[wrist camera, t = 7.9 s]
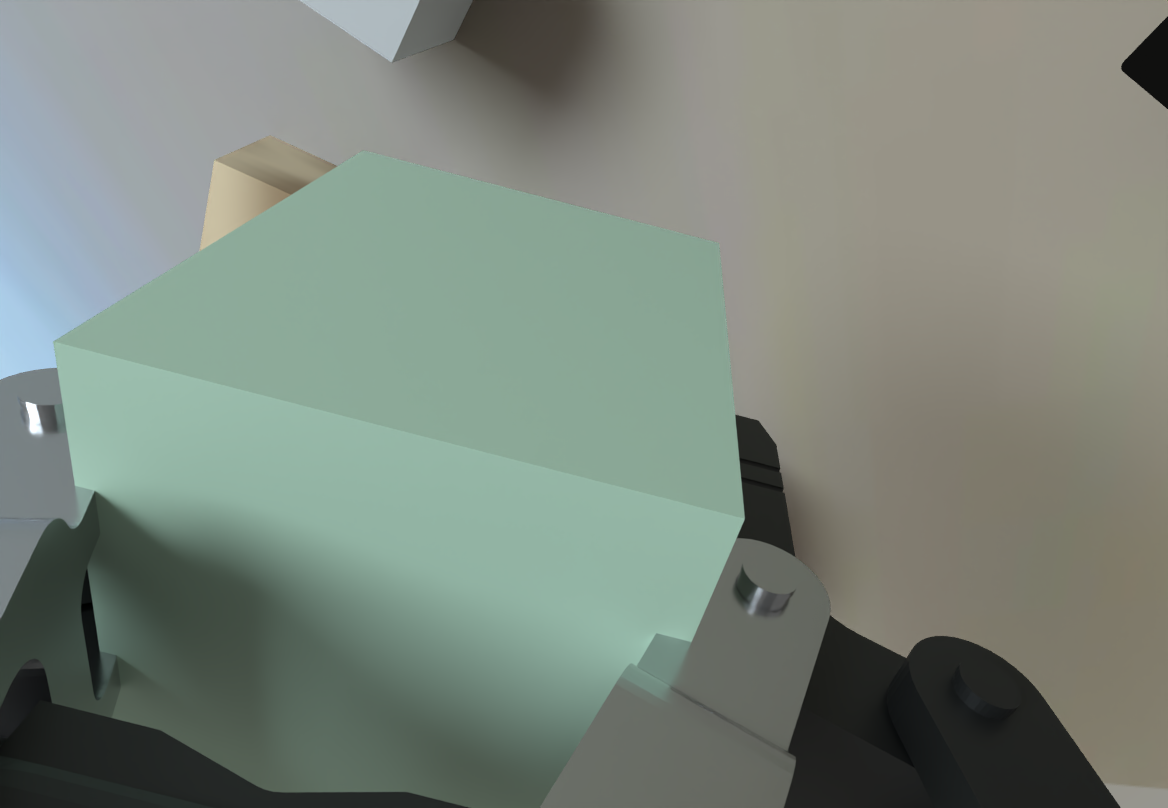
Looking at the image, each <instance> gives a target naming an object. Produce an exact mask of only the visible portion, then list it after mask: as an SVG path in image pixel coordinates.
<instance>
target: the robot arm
mask: <svg viewBox="0 0 1168 808" xmlns="http://www.w3.org/2000/svg"><path fill="white" fill-rule="evenodd" d="M735 419H736V429H737V440H738V451H739V461H740V472H741V483H742V493H743V504H744V515H745V520H744V522H743V524H742V527H741V529H740V531H739V534H738V536H737V538H736V540H735V543H734V545H733V547H732V550H731V552H730V554H729V557H728V559H727V561H726V564H725V566H724V568H723V570H722V573H721V575H720V577H719V580H718V582H717V584H716V587H715V589H714V591H713V594H712V596H711V598H710V600H709V603H708V605H707V607H706V610H705V612H704V614H703V617H702V619H701V621H700V624H699V626H698V628H697V630H696V633H695V635H694V637H693V640H692V642H689V641H685V640H681V639H677V638H673V637H669V636H666V635H662V634H658V633H656V634H655V636H654V638H653V639H652V641H651V643H650V644H649V646H648V648H647V649H646V651H645V653H644V654H643V656H642V658H641V659H640V661H639V663H638V664H637V666H636V665H634V664H633V663H630V664H629V665H628V666H627V667H626V669H625V670H624V671H623V673H622V674H621V676H620V677H619V679H618V681H617V682H616V684H615V685H614V687H613V689H612V690H611V692H610V694H609V695H608V697H607V698H606V700H605V702H604V703H603V705H602V707H601V708H600V710H599V712H598V713H597V715H596V716H595V718H594V720H593V721H592V723H591V725H590V726H589V728H588V729H587V731H586V733H585V734H584V736H583V738H582V739H581V741H580V743H579V744H578V746H577V747H576V749H575V751H574V752H573V754H572V756H571V757H570V759H569V761H568V762H567V764H566V765H565V767H564V769H563V770H562V772H561V774H560V775H559V777H558V779H557V780H556V782H555V783H554V785H553V787H552V788H551V790H550V792H549V793H548V795H547V796H546V798H545V800H544V801H543V803H542V805H541V806H540V808H1120V806H1119V805H1118V803H1117V802H1116V801H1115V799H1114V798H1113V796H1112V795H1111V793H1110V792H1109V790H1108V789H1107V788H1106V786H1105V785H1104V783H1103V782H1102V781H1101V779H1100V778H1099V776H1098V775H1097V773H1096V772H1095V771H1094V769H1093V768H1092V766H1091V765H1090V763H1089V762H1088V761H1087V759H1086V758H1085V756H1084V755H1083V753H1082V752H1081V751H1080V749H1079V748H1078V746H1077V745H1076V743H1075V742H1074V741H1073V739H1072V738H1071V736H1070V735H1069V733H1068V732H1067V731H1066V729H1065V728H1064V726H1063V725H1062V724H1061V722H1060V721H1059V719H1058V718H1057V716H1056V715H1055V714H1054V712H1053V711H1052V709H1051V708H1050V706H1049V705H1048V704H1047V702H1046V701H1045V699H1044V698H1043V697H1042V695H1041V694H1040V693H1039V691H1038V690H1037V689H1036V688H1035V686H1034V685H1033V684H1032V683H1031V682H1030V681H1029V680H1028V679H1027V678H1026V677H1025V676H1024V675H1023V674H1022V673H1020V672H1019V671H1018V670H1017V669H1016V668H1015V667H1013V666H1012V665H1011V664H1009V663H1008V662H1007V661H1005V660H1004V659H1003V658H1001V657H999V656H998V655H996V654H994V653H993V652H991V651H989V650H987V649H985V648H983V647H981V646H979V645H977V644H974V643H972V642H969V641H966V640H963V639H959V638H955V637H948V636H934V637H929V638H926V639H924V640H921V641H920V642H918V643H917V644H916V645H915V646H914V647H913V649H912V650H911V652H910V654H909V655H908V657H907V658H905V657H903V656H901V655H899V654H897V653H895V652H893V651H891V650H889V649H887V648H885V647H883V646H881V645H879V644H877V643H875V642H873V641H871V640H869V639H867V638H865V637H863V636H861V635H859V634H857V633H856V632H854V631H852V630H850V629H848V628H847V627H845V626H844V625H842V624H841V623H839V622H838V621H837V620H835V619H834V618H833V617H832V616H830V611H831V608H830V600H829V597H828V594H827V592H826V590H825V588H824V586H823V584H822V583H821V582H820V580H819V579H818V577H817V576H816V575H815V574H814V573H813V572H812V571H811V570H810V569H809V568H808V567H807V566H806V565H805V564H804V563H802V562H801V561H800V560H798V559H797V558H796V557H795V553H794V547H793V541H792V535H791V529H790V523H789V517H788V511H787V505H786V500H785V494H784V493H783V482H782V476H781V473H779V470H780V464H779V458H778V452H777V446H776V444H775V442H774V441H773V440H772V438H771V437H770V436H769V434H768V433H767V432H766V430H765V429H764V428H763V426H762V425H761V424H760V422H759V421H758V420H754V419H750V418H746V417H742V416H738V415H735ZM99 536H100V527H99V519H98V512H97V505H96V497H95V491H94V490H90V489H86V488H82V487H78V486H75V483H74V476H73V470H72V463H71V456H70V450H69V443H68V436H67V430H66V423H65V416H64V410H63V403H62V396H61V390H60V383H59V376H58V370H57V368H48V369H40V370H33V371H28V372H23V373H19V374H16V375H12V376H9V377H6V378H4V379H1V380H0V808H469V807H465V806H461V805H457V804H453V803H449V802H445V801H441V800H437V799H433V798H429V797H425V796H421V795H417V794H413V793H409V792H273V791H269V790H265V789H262V788H260V787H258V786H256V785H254V784H252V783H251V782H249V781H247V780H246V779H244V778H242V777H240V776H239V775H237V774H235V773H233V772H232V771H230V770H228V769H227V768H225V767H223V766H221V765H220V764H218V763H216V762H214V761H213V760H211V759H209V758H208V757H206V756H204V755H202V754H201V753H199V752H197V751H196V750H194V749H192V748H190V747H189V746H187V745H185V744H183V743H182V742H180V741H178V740H177V739H175V738H173V737H171V736H170V735H168V734H166V733H164V732H163V731H161V730H158V729H154V728H150V727H146V726H142V725H138V724H134V723H130V722H126V721H122V720H118V719H114V718H112V715H113V712H114V709H115V705H116V702H117V699H118V695H119V692H120V689H121V683H120V676H119V668H118V661H117V655H113V654H109V653H105V652H101V651H100V649H99V642H98V636H97V629H96V623H95V616H94V609H93V603H92V596H91V589H90V583H89V576H88V569H87V566H88V563H89V561H90V558H91V556H92V553H93V551H94V548H95V546H96V543H97V541H98V538H99Z"/></svg>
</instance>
